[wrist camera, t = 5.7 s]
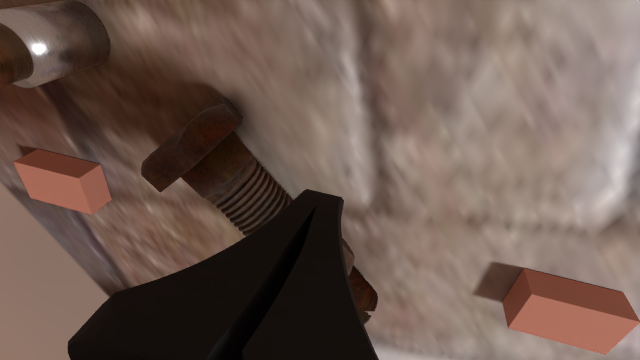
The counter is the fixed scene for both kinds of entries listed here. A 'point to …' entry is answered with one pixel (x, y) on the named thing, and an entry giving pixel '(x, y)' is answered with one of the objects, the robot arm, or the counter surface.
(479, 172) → the counter surface
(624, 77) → the counter surface
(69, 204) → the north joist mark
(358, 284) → the bolt
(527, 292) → the block
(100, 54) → the two-tone metal capsule
